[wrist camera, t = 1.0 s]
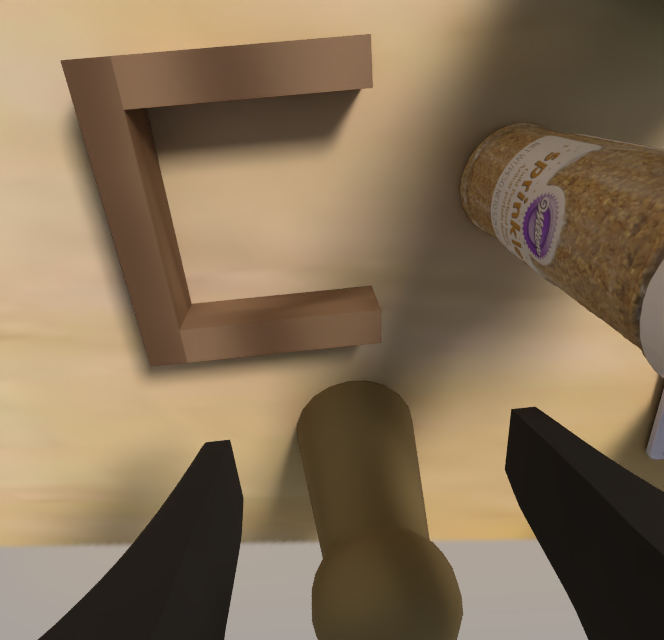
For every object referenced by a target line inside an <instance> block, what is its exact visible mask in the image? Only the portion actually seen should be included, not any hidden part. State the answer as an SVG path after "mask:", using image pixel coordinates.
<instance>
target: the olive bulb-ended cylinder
mask: <svg viewBox="0 0 664 640" xmlns="http://www.w3.org/2000/svg"><path fill="white" fill-rule="evenodd" d="M297 434H298V443H299V448H300V452H301V457H302V462H303V466H304V471H305V476H306V481H307V485H308V490H309V495H310V500H311V504H312V509H313V514H314V519H315V523H316V528H317V533H318V538H319V542H320V547H321V552H322V556H323V560H322V562H321V564H320V566H319V568H318V570H317V572H316V574H315V578H314V583H313V587H312V622H313V626H314V629H315V633H316V636H317V638H318V640H457V637H458V633H459V629H460V624H461V620H462V616H463V608H462V597H461V593H460V590H459V586H458V583H457V580H456V577H455V574H454V571H453V568H452V566H451V565H450V563H449V562H448V560H447V559H446V557H445V556H444V554H443V553H442V552H441V551H440V550H439V549H438V548H437V546H436V545H435V544H434V543H433V542H431V541H430V539H429V532H428V526H427V519H426V512H425V505H424V498H423V491H422V485H421V478H420V471H419V464H418V457H417V450H416V444H415V437H414V430H413V423H412V418H411V415H410V411H409V408H408V406H407V404H406V403H405V402H404V401H403V399H402V398H401V397H400V395H399V394H397V393H395V392H394V391H392V390H391V389H389V388H387V387H386V386H384V385H380V384H376V383H372V382H368V381H356V382H345V383H342V384H338V385H335V386H332V387H329V388H327V389H326V390H324V391H322V392H321V393H319V394H318V395H316V396H314V397H313V399H312V400H311V401H310V402H309V403H308V404H307V405H306V407H305V408H304V409H303V411H302V413H301V416H300V418H299V421H298V424H297Z"/></svg>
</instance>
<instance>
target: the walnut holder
mask: <svg viewBox="0 0 664 640" xmlns="http://www.w3.org/2000/svg"><path fill="white" fill-rule="evenodd" d="M61 64H62V67H63V71H64V74H65V77H66V81H67V84H68V88H69V91H70V94H71V98H72V101H73V105H74V108H75V111H76V115H77V118H78V122H79V125H80V128H81V132H82V135H83V139H84V142H85V145H86V149H87V152H88V156H89V159H90V162H91V166H92V169H93V172H94V176H95V179H96V183H97V186H98V189H99V193H100V196H101V200H102V203H103V206H104V210H105V213H106V217H107V220H108V223H109V227H110V230H111V234H112V237H113V240H114V244H115V247H116V251H117V254H118V257H119V261H120V264H121V268H122V271H123V274H124V278H125V281H126V285H127V288H128V291H129V295H130V298H131V301H132V305H133V308H134V312H135V315H136V318H137V322H138V325H139V329H140V332H141V335H142V339H143V342H144V346H145V349H146V352H147V356H148V359H149V363H150V366H151V367H152V366H161V365H171V364H180V363H190V362H199V361H209V360H219V359H228V358H238V357H247V356H257V355H266V354H276V353H285V352H295V351H304V350H314V349H324V348H333V347H343V346H352V345H362V344H371V343H381V342H382V336H381V310H380V307H379V304H378V302H377V299H376V297H375V294H374V291H373V289H372V286H365V287H355V288H345V289H335V290H326V291H316V292H306V293H296V294H286V295H276V296H266V297H256V298H246V299H236V300H227V301H217V302H207V303H197V304H191V300H190V296H189V291H188V287H187V283H186V278H185V274H184V270H183V266H182V261H181V257H180V253H179V248H178V244H177V240H176V235H175V231H174V227H173V223H172V218H171V214H170V210H169V205H168V201H167V197H166V192H165V188H164V184H163V180H162V175H161V171H160V167H159V162H158V158H157V154H156V150H155V145H154V141H153V137H152V132H151V128H150V124H149V119H148V115H147V111H146V108H150V107H161V106H172V105H184V104H195V103H206V102H218V101H229V100H240V99H252V98H263V97H274V96H286V95H297V94H308V93H320V92H331V91H342V90H353V89H365V88H373V83H372V54H371V34H366V35H355V36H343V37H331V38H319V39H308V40H296V41H284V42H272V43H260V44H249V45H237V46H225V47H213V48H202V49H190V50H178V51H166V52H154V53H143V54H131V55H119V56H107V57H96V58H84V59H72V60H61Z"/></svg>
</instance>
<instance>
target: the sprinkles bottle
mask: <svg viewBox="0 0 664 640" xmlns="http://www.w3.org/2000/svg"><path fill="white" fill-rule="evenodd" d="M460 193H461V201H462V205H463V207H464V210H465V212H466V214H467V215H468V217H469V219H470V220H471V221H472V223H473V224H474V225H475V226H476V227H478V228H479V229H481V230H482V231H484V232H486V233H488V234H491V235H493V236H494V237H495V238H497V239H498V240H499V241H500V242H501V243H502V245H503V246H504V247H505V248H506V249H508V250H509V251H510V252H511V253H513V254H514V255H515V256H517V257H518V258H519V259H520V260H522V261H523V262H524V263H525V264H527V265H528V266H529V267H530V268H532V269H533V270H534V271H535V272H537V273H538V274H539V275H540V276H542V277H543V278H544V279H546V280H547V281H549V282H550V283H552V284H553V285H555V286H557V287H559V288H560V289H561V290H563V291H564V292H566V293H567V294H568V295H569V296H571V297H572V298H573V299H575V300H576V301H577V302H578V303H579V304H581V305H582V306H584V307H585V308H586V309H587V310H588V311H590V312H592V313H594V314H595V315H596V316H597V317H598V318H601V319H602V320H603V321H605V322H606V323H607V324H609V325H610V326H611V327H612V328H614V329H615V330H616V331H618V332H619V333H621V334H622V335H623V337H624V338H626V339H628V340H629V341H630V342H632V343H633V344H634V345H636V346H638V347H639V348H640V349H641V351H642V352H643V355H644V356H645V358H646V359H647V361H648V362H649V364H650V365H651V366H652V368H653V369H654V370H655V372H657V373H658V374H659V375H660V376H661V377H662V378H664V149H660V148H654V147H649V146H644V145H639V144H634V143H628V142H623V141H617V140H612V139H606V138H601V137H595V136H590V135H584V134H570V135H568V134H563V133H559V132H554V131H551V130H549V129H547V128H545V127H544V126H541V125H537V124H532V123H516V124H512V125H509V126H506V127H503V128H501V129H499V130H497V131H496V132H495V133H493V134H491V135H490V136H489V137H487V138H486V139H484V140H483V142H482V143H481V144H480V145H479V146H477V148H476V149H475V150H474V151H473V153H472V155H471V156H470V158H469V160H468V164H467V165H466V166H465V168H464V173H463V175H462V178H461V185H460Z"/></svg>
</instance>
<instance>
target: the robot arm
mask: <svg viewBox="0 0 664 640" xmlns="http://www.w3.org/2000/svg"><path fill="white" fill-rule="evenodd" d="M646 453H647V455H648V456H649V457H650V458H651V459H653V460H658V459H664V390H663V393H662V397H661V400H660V404H659V407H658V411H657V414H656V418H655V421H654V425H653V428H652V432H651V435H650V439H649V442H648V446H647V449H646ZM505 471H506V474H507V476H508V479H509V482H510V484H511V487H512V489H513V492H514V494H515V497H516V499H517V502H518V504H519V506H520V508H521V510H522V512H523V514H524V516H525V518H526V520H527V521H528V523H529V525H530V527H531V529H532V531H533V532H534V534H535V536H536V538H537V540H538V542H539V543H540V545H541V547H542V549H543V551H544V552H545V554H546V556H547V558H548V560H549V561H550V563H551V565H552V567H553V569H554V570H555V572H556V574H557V576H558V578H559V579H560V581H561V583H562V585H563V587H564V589H565V590H566V592H567V594H568V596H569V598H570V600H571V602H572V604H573V606H574V608H575V610H576V612H577V614H578V617H579V619H580V621H581V624H582V626H583V628H584V630H585V633H586V635H587V637H588V640H664V492H663V491H661V490H659V489H657V488H656V487H654V486H652V485H651V484H649V483H648V482H646V481H644V480H643V479H641V478H639V477H638V476H636V475H634V474H633V473H631V472H630V471H628V470H626V469H625V468H623V467H622V466H620V465H619V464H617V463H616V462H614V461H613V460H611V459H610V458H608V457H607V456H605V455H604V454H602V453H601V452H599V451H598V450H596V449H595V448H593V447H592V446H590V445H589V444H587V443H586V442H585V441H583V440H582V439H580V438H579V437H577V436H576V435H575V434H573V433H572V432H570V431H569V430H568V429H566V428H565V427H563V426H562V425H561V424H559V423H558V422H556V421H555V420H554V419H552V418H551V417H549V416H548V415H546V414H545V413H544V412H542V411H541V410H539V409H538V408H536V407H528V408H519V409H511V418H510V427H509V436H508V446H507V455H506V464H505ZM242 519H243V494H242V490H241V486H240V481H239V477H238V472H237V468H236V464H235V459H234V455H233V451H232V446H231V442H230V440H224V441H214V442H206V443H205V444H204V445H203V446H202V448H201V449H200V451H199V453H198V454H197V456H196V457H195V459H194V460H193V462H192V463H191V465H190V466H189V468H188V469H187V471H186V472H185V474H184V475H183V477H182V478H181V480H180V481H179V483H178V484H177V486H176V487H175V489H174V490H173V491H172V493H171V494H170V496H169V497H168V498H167V500H166V501H165V503H164V504H163V505H162V507H161V508H160V510H159V511H158V512H157V514H156V515H155V516H154V517H153V519H152V520H151V521H150V523H149V524H148V525H147V526H146V528H145V529H144V530H143V531H142V533H141V534H140V535H139V536H138V538H137V539H136V540H135V542H134V543H133V544H132V545H131V546H130V547H129V549H128V550H127V551H126V552H125V553H124V555H123V556H122V557H121V558H120V559H119V560H118V561H117V563H116V564H115V565H114V566H113V567H112V568H111V569H110V570H109V571H108V572H107V574H106V575H105V576H104V577H103V578H102V579H101V580H100V581H99V582H98V583H97V584H96V585H95V586H94V587H93V588H92V589H91V590H90V591H89V592H88V593H87V594H86V595H85V596H84V597H83V598H82V599H81V600H80V601H79V602H78V603H77V604H76V605H75V606H74V607H73V608H72V609H71V610H70V611H69V612H68V613H67V614H66V615H65V616H64V617H62V618H61V620H59V621H58V622H57V623H56V624H55V625H54V626H53V627H52V628H51V629H50V630H48V631H47V632H46V633H45V634H44V635H43V636H42V637H40V638H39V639H38V640H224V637H225V629H226V624H227V618H228V612H229V607H230V601H231V595H232V590H233V584H234V578H235V572H236V566H237V560H238V555H239V549H240V543H241V535H242Z"/></svg>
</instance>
